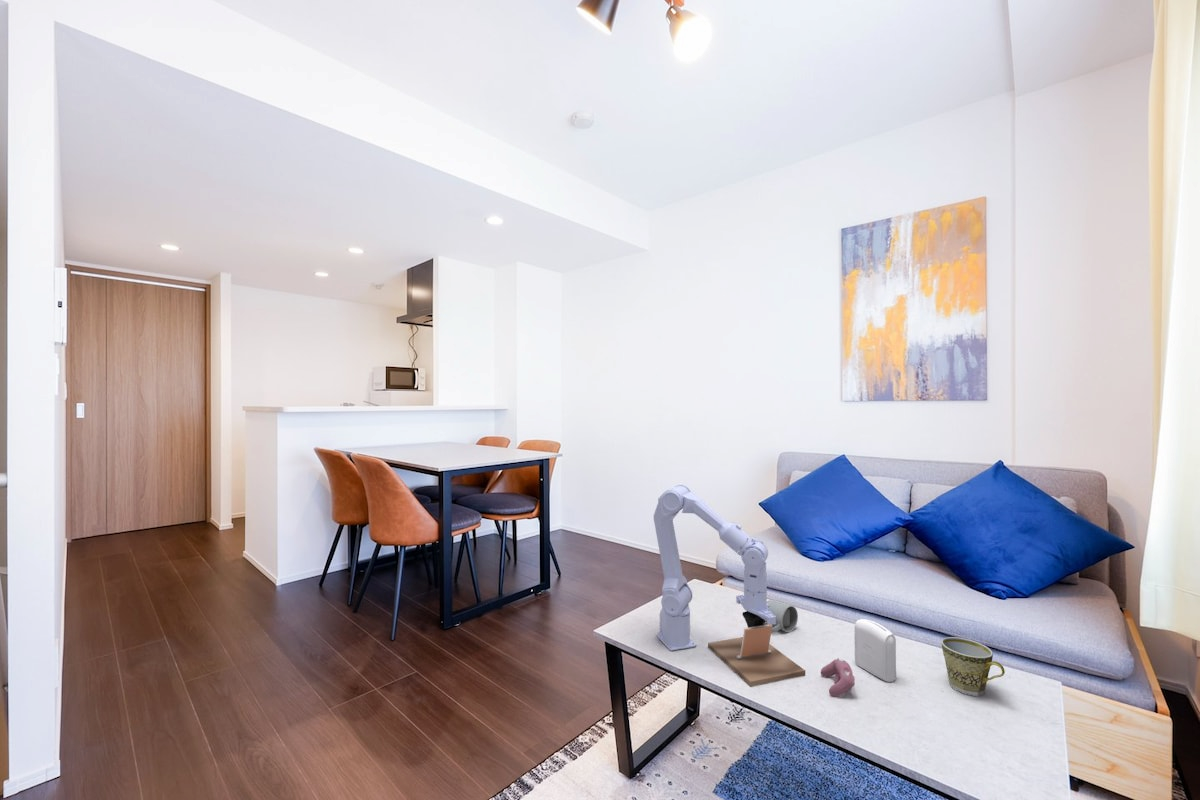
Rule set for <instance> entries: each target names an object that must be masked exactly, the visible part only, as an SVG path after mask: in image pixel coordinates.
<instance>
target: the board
mask: <svg viewBox="0 0 1200 800" xmlns="http://www.w3.org/2000/svg"><path fill="white" fill-rule="evenodd" d="M742 641H743V636H742V637H735V638H729V639H724V640H717V641H713V642H708V643H707V648H708V649H709V650H710V651H711V652H712V653H713V654H715V656H717V657H718V658H719V659H720V660H721V661H722V662H723V663H724V664H725V665H726V666H728V668H730V670H732V671H733V672H734V673H735V674H736V675H737V676H738V677H740V679H742V680H743V682H745V683H746V684H747V685H748V686H749V687H755V686H760V685H765V684H770V683H775V682H781V681H784V680H790V679H794V678H799V677H805V676H806V670H805V669H804V668H802V667H801V666H800V665H798V663H796V662H795V661H793V660H792V659H790V658H789V657H788V656H786V655H785V654H784V653H782V652H781V651H780V650H779V649H777V648H776V647H775V646H773V645H772V644H770V643H769V649H768V650H771V653H768V654H767V652H766V653H760V654H755V655H749V656H744V657H742V656H741V657H742V658H741V659H737V656H738V655H740V653H741V647H742Z"/></svg>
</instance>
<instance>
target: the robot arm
mask: <svg viewBox="0 0 1200 800" xmlns="http://www.w3.org/2000/svg"><path fill="white" fill-rule="evenodd" d="M681 510H682V511H681ZM680 511H681V514H693V515H696V516H697V517H698V518H700V519H701V520H702V521H704V522H705V523H706V524H708V525H709V526H710V527H712V528H713V529H714V530H716V531H717V532H718V535H719V539H720V540H721V541H722V542H723V543H725V544H726V546H727V547H729V548H730V549H732V551H734V552H735V553H736V554H737V555H739V556H741V561H742V563H743V564H744V570H743V594H740V595H739V594H738V595H736V602H735V603H736V604H738V605H741V607H742V608H743V610H745V611H742V616H743V618H744V620H745V623H746V625H747V628H749V627H755V626H761V625H765V624H766V623H767V624H769V625H773V624H776V616H774V615H773V614H772V612H771V611H770V610H769V607H770V605H769V604H768V603H767V601H768V600H767V593H768V592H767V583H768V581H767V577H768V576H767V575H768V574H767V562H766V560H768V558H769V557H768V556H769V549H768V547H767V546H766V545H765V543H763V541H761V540H758V539H756V538H755V537H753V536H752V537H751V536H750V535H749V534H748V533H747V532H746V531H744V530H743V529H742V525H740V524H739V523H737V524H736V523H735V522H727V521H726V520H725V519H723V518H722V517H721V516H720V515H719V514H718V513H717V512H716V511H714V510H713V509H712V508H711V506H709V505H708V504H707V503H706V502H705V501H703V499H701V498H700V497H699V495H698V494H697V493H696V492H694V491H693V490H691V489H690V488H689V487H688V486H686V485H683V484H678V485H675V486H674V487H672V488H670V489H667V490H665V491H664V492H663V493H662V494H661V495H660V496H659V497H658V499H657V504H656V508H655V511H654V513H653V523H654V528H655V533H656V534H655V535H656V539H657V544H658V551H659V556H660V561H661V568H662V573H663V578H664V579H663V584H662V589H661V590H662V598H661V601H660V602H661V603H660V604H661V609H660V612H659V633H656V637H657V638H658V639H659V640H660V641H661V642H662V643H663V644H664V645H665V647H667V649H668V650H669V651H671V652H672V651H678V650H682V649H683V650H684V649H690V648H696V643H695V642H694V641H693V640H692V639H691V609H690V605H689V604H690V603H691V601H692V599H693V591H692V589H691V587H690V586H689V583H688V580H687V577H685V576H684V574H683V570H682V565H681V559H680V553H679V548H678V547H679V546H678V542H677V537H676V532H675V527H674V526H675V525H674V519H675V517H676V516H678V514H679V512H680ZM766 621H767V622H766ZM767 624H766V625H767Z"/></svg>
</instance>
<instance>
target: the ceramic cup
mask: <svg viewBox="0 0 1200 800" xmlns="http://www.w3.org/2000/svg"><path fill="white" fill-rule="evenodd" d="M941 649H942V653H943V658H944V661H945V668H946V672H947V678H948V682H949V685H950V686H951V688H952V689H953V688H954V689H953V690H955V689H956V690H955V691H957V690H958V691H957V692H959V691H960V692H959V693H961V692H962V693H961V694H963V693H964V694H963V695H966V694H968V695H967V696H971V695H973V696H972V697H976V696H978V697H981V696H983V695H984V694H985V691H986V686H987V682H988V681H991V680H993V679H995V678H1002V677H1003V676H1004V675H1005V673H1006V671H1005V669H1004V666H1003V665H1002V664H1001V663H1000V662H997V661H993V655H994V653H993V650H991V649H990V648H989V647H988V646H987V645H984V644H982V643H981V642H977V641H974V640H971V639H969V638H963V637H956V636H951V637H950V636H949V637H944V638H943V639H941ZM991 666H997V667H998V668H1000V670H1001V674H1000V673H999V674H997V675H993V676H991V677H989V675H990V674H989V673H990V670H991ZM982 694H983V695H982ZM980 695H981V696H980Z"/></svg>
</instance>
